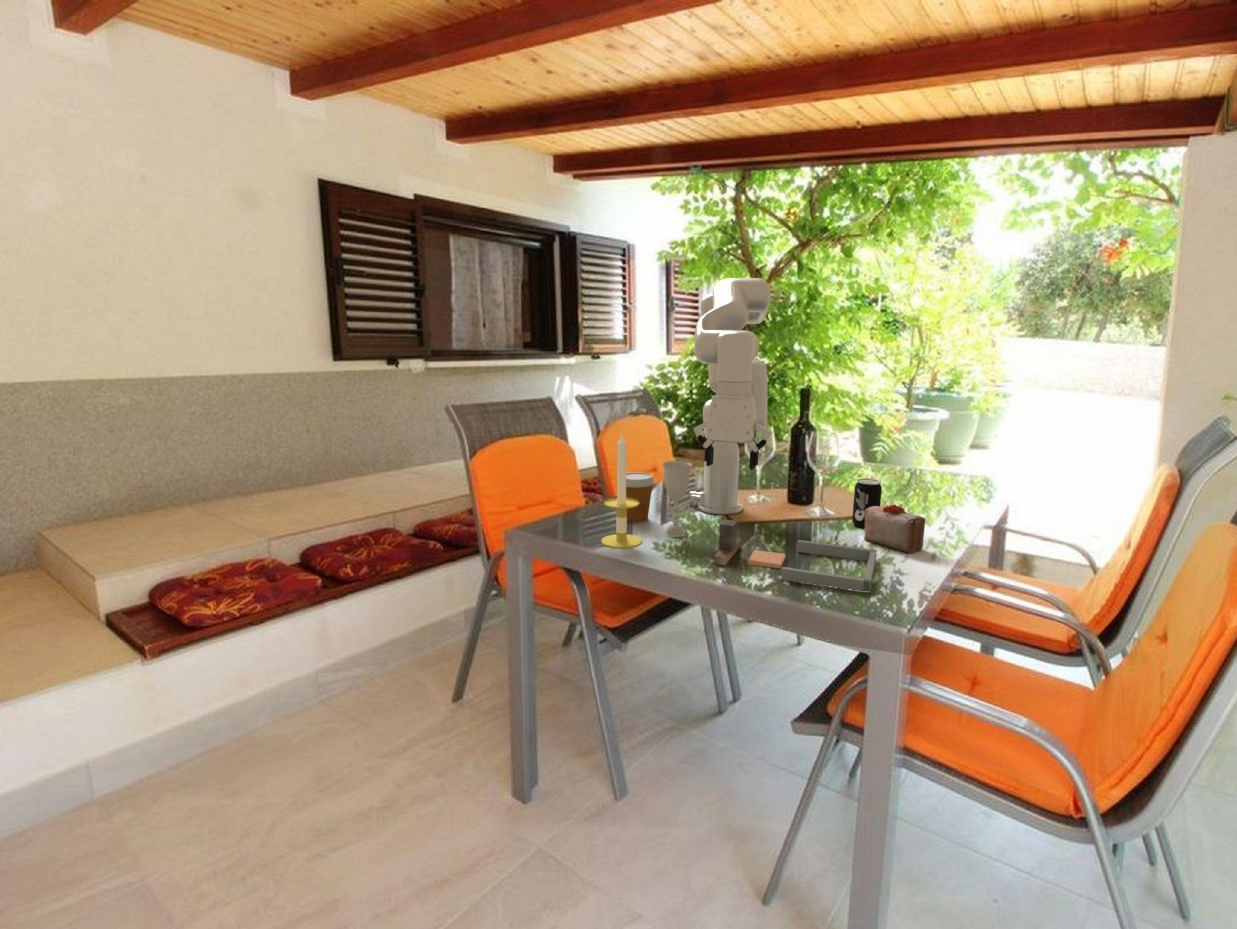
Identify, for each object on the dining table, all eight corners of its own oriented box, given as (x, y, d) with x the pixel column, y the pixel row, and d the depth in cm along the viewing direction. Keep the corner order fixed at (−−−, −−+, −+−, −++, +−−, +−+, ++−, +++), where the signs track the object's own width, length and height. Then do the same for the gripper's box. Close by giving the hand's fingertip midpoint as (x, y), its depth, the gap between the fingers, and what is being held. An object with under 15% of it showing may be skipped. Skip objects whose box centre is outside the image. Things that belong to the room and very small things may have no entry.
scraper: (713, 564, 148) (714, 529, 147) (728, 546, 160) (729, 514, 158) (726, 566, 147) (727, 531, 145) (740, 548, 159) (742, 515, 157)
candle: (594, 538, 165) (594, 430, 160) (631, 533, 169) (632, 427, 164) (610, 550, 156) (610, 436, 151) (649, 545, 160) (650, 433, 155)
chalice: (692, 531, 171) (694, 462, 167) (686, 539, 164) (688, 467, 161) (665, 528, 173) (666, 460, 169) (657, 536, 167) (658, 465, 163)
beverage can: (880, 530, 172) (884, 484, 170) (853, 528, 173) (857, 483, 171) (876, 522, 178) (880, 478, 176) (850, 521, 180) (853, 477, 177)
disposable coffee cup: (612, 516, 183) (612, 474, 181) (642, 512, 188) (643, 470, 185) (628, 526, 175) (629, 481, 173) (660, 521, 179) (661, 477, 177)
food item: (857, 539, 165) (860, 501, 163) (877, 534, 169) (880, 496, 167) (907, 555, 154) (911, 514, 152) (927, 549, 158) (931, 509, 156)
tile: (748, 566, 148) (748, 560, 148) (754, 556, 154) (754, 549, 154) (780, 570, 146) (780, 564, 145) (784, 560, 152) (785, 553, 152)
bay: (780, 580, 139) (781, 568, 138) (797, 550, 157) (798, 539, 157) (869, 593, 132) (870, 581, 131) (875, 560, 150) (876, 549, 150)
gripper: (690, 389, 146) (688, 466, 149) (770, 392, 139) (766, 473, 142) (700, 386, 152) (698, 460, 156) (777, 389, 145) (773, 467, 149)
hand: (730, 466), depth 149 cm, fingers open, 9 cm apart
